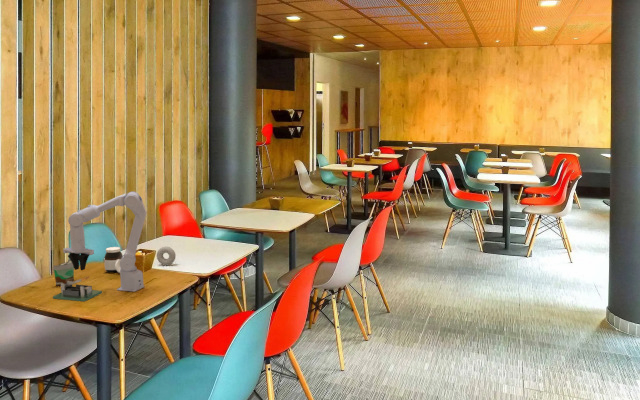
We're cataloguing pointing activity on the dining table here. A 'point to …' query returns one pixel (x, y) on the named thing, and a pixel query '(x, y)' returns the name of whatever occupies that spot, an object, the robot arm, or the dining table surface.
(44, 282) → the dining table surface
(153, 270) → the dining table surface
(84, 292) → the green base metal fixture
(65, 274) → the food container
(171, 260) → the donut
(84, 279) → the grey and orange bar
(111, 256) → the spread jar
